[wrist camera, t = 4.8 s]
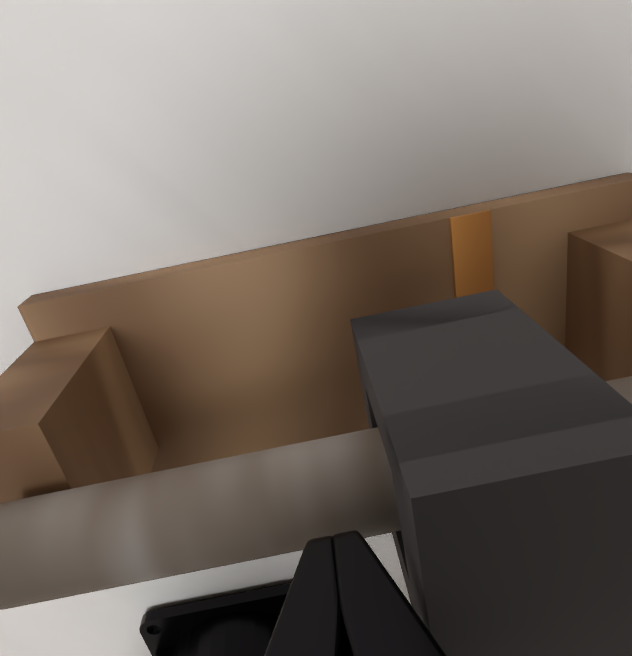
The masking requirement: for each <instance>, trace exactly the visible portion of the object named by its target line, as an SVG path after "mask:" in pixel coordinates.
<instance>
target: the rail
mask: <svg viewBox="0 0 632 656" xmlns="http://www.w3.org/2000/svg"><path fill="white" fill-rule="evenodd" d="M496 289H497V290H498V291H500V292H501V293H502V294H503V295H504V296H505V297H507V298H508V299H509V300H510V301H511V302H512V303H514V304H515V305H516V306H517V307H518V308H520V309H521V310H522V311H523V312H524V313H525V314H527V315H528V316H529V317H530V318H531V319H532V320H534V321H535V322H536V323H537V324H538V325H539V326H541V327H542V328H543V329H544V330H545V331H547V332H548V333H549V334H550V335H551V336H552V337H554V338H555V339H556V340H557V341H558V342H559V343H561V344H562V345H563V346H564V347H565V348H566V349H568V350H569V351H570V352H571V353H572V354H574V355H575V356H576V357H577V358H578V359H579V360H581V361H582V362H583V363H584V364H585V365H586V366H588V367H589V368H590V369H591V370H592V371H593V372H595V373H596V374H597V375H598V376H599V377H601V378H602V379H603V380H604V381H605V382H606V383H608V384H609V385H610V386H611V387H612V388H613V389H615V390H616V391H617V392H618V393H619V394H620V395H622V396H623V397H624V398H625V399H626V400H628V401H629V402H630V403H631V404H632V173H623V174H619V175H614V176H609V177H604V178H599V179H594V180H590V181H585V182H580V183H575V184H570V185H565V186H560V187H556V188H551V189H546V190H541V191H536V192H531V193H526V194H522V195H517V196H512V197H507V198H502V199H497V200H492V201H488V202H483V203H478V204H473V205H468V206H463V207H459V208H454V209H449V210H444V211H439V212H434V213H429V214H425V215H420V216H415V217H410V218H405V219H400V220H395V221H391V222H386V223H381V224H376V225H371V226H366V227H362V228H357V229H352V230H347V231H342V232H337V233H332V234H328V235H323V236H318V237H313V238H308V239H303V240H298V241H294V242H289V243H284V244H279V245H274V246H269V247H265V248H260V249H255V250H250V251H245V252H240V253H235V254H231V255H226V256H221V257H216V258H211V259H206V260H201V261H197V262H192V263H187V264H182V265H177V266H172V267H168V268H163V269H158V270H153V271H148V272H143V273H138V274H134V275H129V276H124V277H119V278H114V279H109V280H104V281H100V282H95V283H90V284H85V285H80V286H75V287H71V288H66V289H61V290H56V291H51V292H46V293H41V294H37V295H32V296H30V297H29V298H28V299H27V300H25V301H24V302H23V303H22V304H20V305H19V306H18V309H19V311H20V313H21V315H22V317H23V319H24V321H25V324H26V326H27V328H28V330H29V332H30V334H31V336H32V338H33V340H34V343H33V344H32V345H31V346H30V347H29V348H28V349H27V350H26V351H25V352H24V353H23V354H22V355H21V356H20V357H19V358H18V359H17V360H16V361H15V362H14V363H13V364H12V365H11V366H10V367H9V368H8V369H7V370H6V371H5V372H4V373H3V374H2V375H1V376H0V609H8V608H13V607H18V606H23V605H28V604H33V603H38V602H43V601H49V600H54V599H59V598H64V597H69V596H74V595H79V594H84V593H89V592H94V591H99V590H104V589H109V588H114V587H119V586H124V585H129V584H134V583H139V582H144V581H149V580H154V579H159V578H164V577H169V576H174V575H179V574H184V573H189V572H195V571H200V570H205V569H210V568H215V567H220V566H225V565H230V564H235V563H240V562H245V561H250V560H255V559H260V558H265V557H270V556H275V555H280V554H285V553H290V552H295V551H300V550H304V548H305V545H306V543H307V542H308V541H309V540H310V539H314V538H319V537H324V536H328V535H331V536H334V535H335V534H338V533H343V532H347V531H352V530H357V531H358V532H360V534H361V535H362V536H363V538H366V537H371V536H376V535H381V534H386V533H391V532H396V531H401V526H400V520H399V514H398V508H397V501H396V495H395V489H394V483H393V476H392V471H391V467H390V464H389V461H388V458H387V455H386V451H385V448H384V445H383V442H382V439H381V435H380V432H379V429H378V427H376V428H371V429H369V424H368V418H367V413H366V407H365V401H364V396H363V390H362V384H361V379H360V373H359V367H358V362H357V356H356V350H355V345H354V339H353V333H352V328H351V322H350V319H354V318H359V317H364V316H369V315H374V314H378V313H383V312H388V311H393V310H398V309H403V308H408V307H413V306H418V305H423V304H428V303H432V302H437V301H442V300H447V299H452V298H457V297H462V296H467V295H472V294H477V293H481V292H486V291H491V290H496Z"/></svg>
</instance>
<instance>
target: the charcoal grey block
mask: <svg viewBox="0 0 632 656" xmlns="http://www.w3.org/2000/svg"><path fill="white" fill-rule="evenodd" d="M350 322H351V328H352V333H353V339H354V345H355V350H356V356H357V362H358V367H359V373H360V379H361V384H362V390H363V396H364V401H365V407H366V413H367V418H368V424H369V429H371V428H376V427H378V429H379V432H380V435H381V439H382V442H383V445H384V448H385V451H386V455H387V458H388V461H389V464H390V467H391V471H392V476H393V483H394V489H395V495H396V501H397V508H398V514H399V520H400V526H401V531H396V532H392V534H393V538H394V542H395V546H396V549H397V553H398V557H399V560H400V564H401V568H402V572H403V575H404V579H405V583H406V586H407V590H408V594H409V598H410V601H411V605H412V607H413V609H414V610H415V611H416V613H417V614H418V616H419V617H420V619H421V620H422V621H423V623H424V624H425V626H426V627H427V628H428V630H429V631H430V633H431V634H432V636H433V637H434V638H435V640H436V641H437V643H438V644H439V646H440V647H441V648H442V650H443V651H444V653H445V654H446V655H447V656H632V404H631V403H630V402H629V401H628V400H626V399H625V398H624V397H623V396H622V395H620V394H619V393H618V392H617V391H616V390H615V389H613V388H612V387H611V386H610V385H609V384H608V383H606V382H605V381H604V380H603V379H602V378H601V377H599V376H598V375H597V374H596V373H595V372H593V371H592V370H591V369H590V368H589V367H588V366H586V365H585V364H584V363H583V362H582V361H581V360H579V359H578V358H577V357H576V356H575V355H574V354H572V353H571V352H570V351H569V350H568V349H566V348H565V347H564V346H563V345H562V344H561V343H559V342H558V341H557V340H556V339H555V338H554V337H552V336H551V335H550V334H549V333H548V332H547V331H545V330H544V329H543V328H542V327H541V326H539V325H538V324H537V323H536V322H535V321H534V320H532V319H531V318H530V317H529V316H528V315H527V314H525V313H524V312H523V311H522V310H521V309H520V308H518V307H517V306H516V305H515V304H514V303H512V302H511V301H510V300H509V299H508V298H507V297H505V296H504V295H503V294H502V293H501V292H500V291H498V290H497V289H496V290H491V291H486V292H481V293H477V294H472V295H467V296H462V297H457V298H452V299H447V300H442V301H437V302H432V303H428V304H423V305H418V306H413V307H408V308H403V309H398V310H393V311H388V312H383V313H378V314H374V315H369V316H364V317H359V318H354V319H350Z"/></svg>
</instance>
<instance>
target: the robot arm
mask: <svg viewBox="0 0 632 656" xmlns="http://www.w3.org/2000/svg"><path fill="white" fill-rule="evenodd" d="M140 633H141V635H142V637H143V639H144V641H145V643H146V645H147V647H148V649H149V650H150V652H151V654H152V656H447V655H446V654H445V653H444V651H443V650H442V648H441V647H440V646H439V644H438V643H437V641H436V640H435V638H434V637H433V636H432V634H431V633H430V631H429V630H428V628H427V627H426V626H425V624H424V623H423V621H422V620H421V619H420V617H419V616H418V614H417V613H416V611H415V610H414V609H413V607H412V606H411V604H410V603H409V602H408V600H407V599H406V597H405V596H404V594H403V593H402V592H401V590H400V589H399V587H398V586H397V584H396V583H395V582H394V580H393V579H392V577H391V576H390V575H389V573H388V572H387V570H386V569H385V567H384V566H383V565H382V563H381V562H380V560H379V559H378V558H377V556H376V555H375V553H374V552H373V550H372V549H371V548H370V546H369V545H368V543H367V542H366V540H365V539H364V538H363V536H362V535H361V534H360V532H358V531H357V530H352V531H347V532H343V533H338V534H335V535H334V536H331V535H328V536H324V537H319V538H314V539H310V540H309V541H308V542H307V543H306V545H305V548H304V550H303V553H302V556H301V558H300V561H299V564H298V566H297V569H296V572H295V574H294V577H293V580H292V583H289V584H284V585H279V586H274V587H269V588H264V589H259V590H254V591H248V592H243V593H238V594H233V595H228V596H223V597H218V598H213V599H208V600H203V601H198V602H193V603H188V604H183V605H178V606H173V607H168V608H163V609H157V610H152V611H149V612H147V613H146V614H144V615H143V618H142V621H141V625H140Z"/></svg>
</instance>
